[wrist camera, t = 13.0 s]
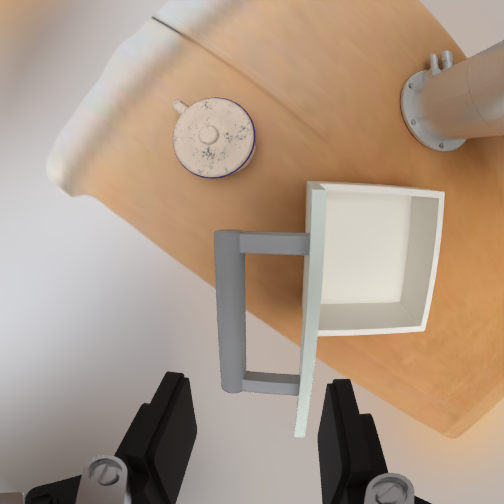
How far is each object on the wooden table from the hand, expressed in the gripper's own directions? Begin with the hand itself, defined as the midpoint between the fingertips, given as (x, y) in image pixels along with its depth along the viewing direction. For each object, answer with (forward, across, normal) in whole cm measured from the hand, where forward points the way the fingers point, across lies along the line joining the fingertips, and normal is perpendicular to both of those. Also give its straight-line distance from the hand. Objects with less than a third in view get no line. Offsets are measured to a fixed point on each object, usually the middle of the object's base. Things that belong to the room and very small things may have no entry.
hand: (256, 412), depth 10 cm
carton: (+35, -12, +3) cm, 37 cm away
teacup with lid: (+35, +8, -12) cm, 38 cm away
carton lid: (+17, -4, +3) cm, 18 cm away
